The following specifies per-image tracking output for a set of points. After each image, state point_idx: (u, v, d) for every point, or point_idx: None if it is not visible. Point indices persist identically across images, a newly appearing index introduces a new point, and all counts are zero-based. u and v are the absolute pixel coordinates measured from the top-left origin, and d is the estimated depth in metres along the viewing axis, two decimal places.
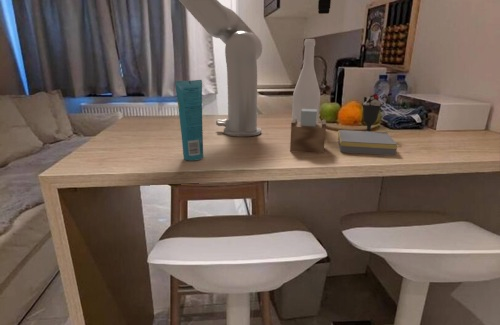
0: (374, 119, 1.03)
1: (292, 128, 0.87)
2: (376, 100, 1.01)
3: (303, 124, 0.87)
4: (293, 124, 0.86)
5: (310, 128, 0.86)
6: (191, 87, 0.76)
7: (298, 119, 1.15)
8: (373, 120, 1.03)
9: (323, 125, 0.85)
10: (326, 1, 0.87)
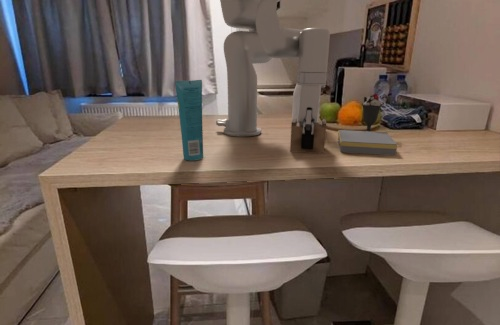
0: (374, 119, 1.03)
1: (292, 128, 0.87)
2: (376, 100, 1.01)
3: (302, 123, 0.87)
4: (293, 124, 0.86)
5: None
6: (191, 87, 0.76)
7: None
8: (373, 120, 1.03)
9: (323, 125, 0.85)
10: (309, 143, 0.86)
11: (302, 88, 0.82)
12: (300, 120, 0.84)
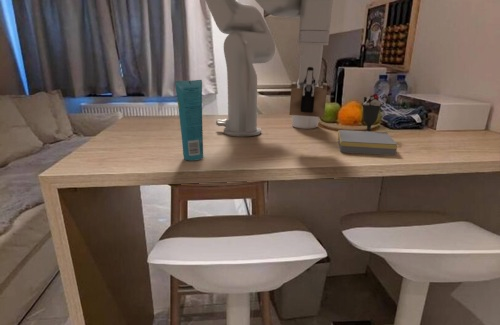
0: (374, 119, 1.03)
1: (292, 90, 0.84)
2: (376, 100, 1.01)
3: (302, 86, 0.84)
4: (293, 85, 0.83)
5: None
6: (191, 87, 0.76)
7: (298, 119, 1.15)
8: (373, 120, 1.03)
9: (324, 86, 0.82)
10: (309, 105, 0.83)
11: (303, 47, 0.79)
12: (300, 81, 0.81)
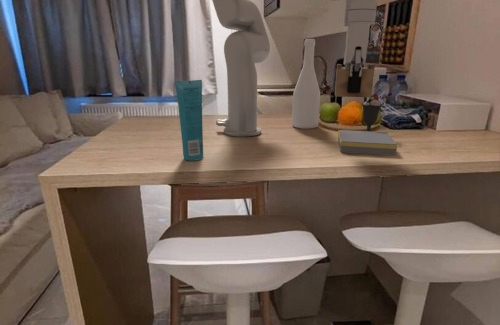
0: (374, 119, 1.03)
1: (338, 71, 0.84)
2: (376, 100, 1.01)
3: (348, 66, 0.84)
4: (339, 66, 0.83)
5: None
6: (191, 87, 0.76)
7: (298, 119, 1.15)
8: (373, 120, 1.03)
9: (372, 66, 0.82)
10: (356, 86, 0.83)
11: (351, 26, 0.79)
12: (348, 61, 0.81)
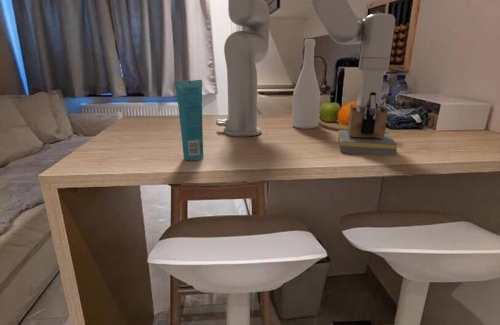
0: None
1: (353, 113, 0.88)
2: None
3: (362, 109, 0.88)
4: (354, 109, 0.88)
5: None
6: (191, 87, 0.76)
7: (298, 119, 1.15)
8: None
9: (385, 110, 0.86)
10: (370, 128, 0.87)
11: (366, 73, 0.84)
12: (363, 105, 0.85)
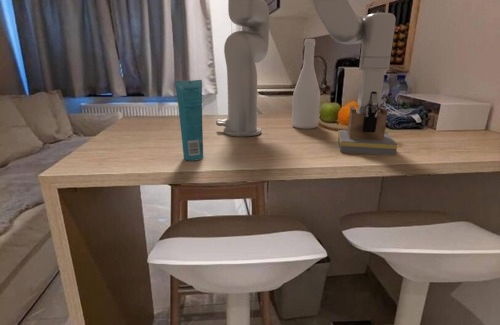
0: None
1: (353, 115, 0.88)
2: None
3: (362, 111, 0.89)
4: (354, 111, 0.88)
5: None
6: (191, 87, 0.76)
7: (298, 119, 1.15)
8: None
9: (384, 112, 0.86)
10: (372, 126, 0.86)
11: (367, 73, 0.83)
12: (364, 104, 0.85)
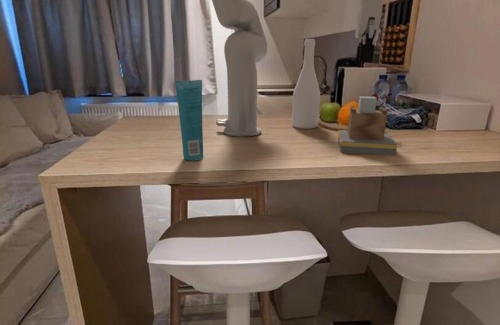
0: None
1: (353, 115, 0.88)
2: (376, 100, 1.01)
3: (362, 111, 0.89)
4: (354, 111, 0.88)
5: (371, 115, 0.87)
6: (191, 87, 0.76)
7: (298, 119, 1.15)
8: None
9: (384, 112, 0.86)
10: (369, 54, 0.82)
11: None
12: (361, 32, 0.81)
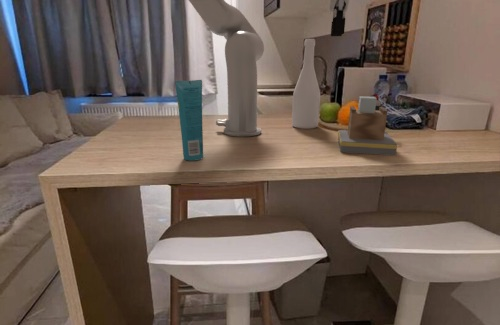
0: None
1: (353, 115, 0.88)
2: (376, 100, 1.01)
3: (362, 111, 0.89)
4: (354, 111, 0.88)
5: (371, 115, 0.87)
6: (191, 87, 0.76)
7: (298, 119, 1.15)
8: None
9: (384, 112, 0.86)
10: (340, 26, 0.86)
11: None
12: (332, 5, 0.86)
